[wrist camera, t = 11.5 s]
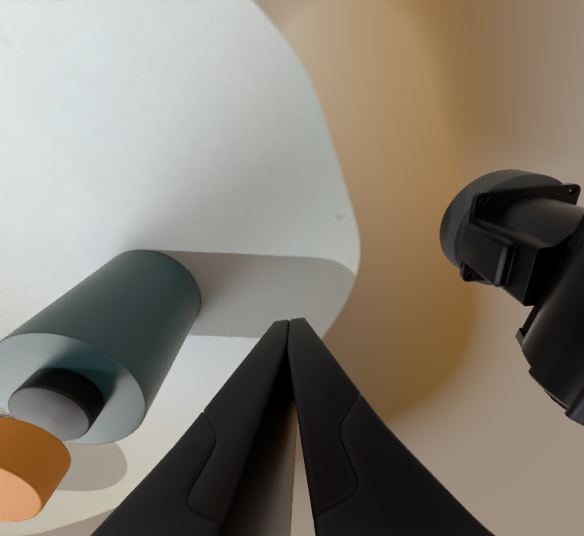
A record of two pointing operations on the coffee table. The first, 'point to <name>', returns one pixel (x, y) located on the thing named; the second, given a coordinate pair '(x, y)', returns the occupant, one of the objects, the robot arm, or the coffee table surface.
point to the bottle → (100, 349)
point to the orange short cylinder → (28, 468)
